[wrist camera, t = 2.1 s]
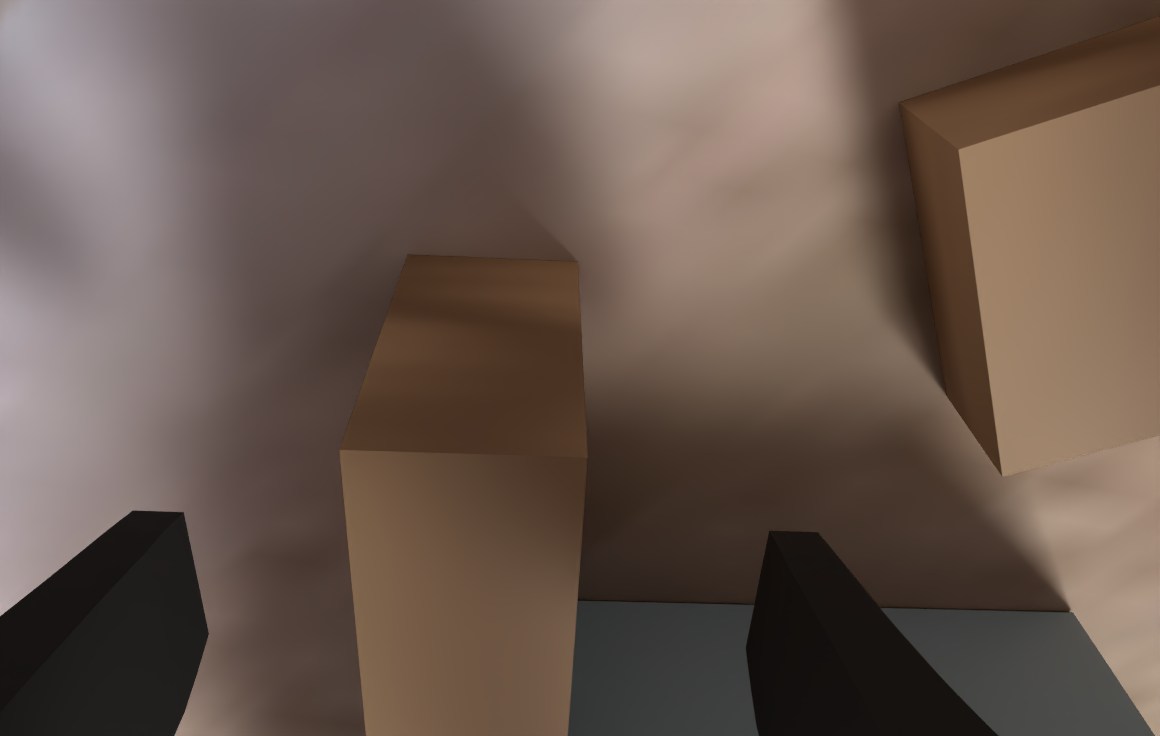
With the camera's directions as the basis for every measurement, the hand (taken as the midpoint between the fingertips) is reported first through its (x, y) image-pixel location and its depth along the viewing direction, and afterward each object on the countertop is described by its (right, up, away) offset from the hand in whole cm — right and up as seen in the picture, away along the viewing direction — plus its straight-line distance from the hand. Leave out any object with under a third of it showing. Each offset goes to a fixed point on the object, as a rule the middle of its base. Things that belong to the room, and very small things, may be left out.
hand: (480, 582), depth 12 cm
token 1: (0, +2, +3) cm, 4 cm away
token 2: (+9, +5, +2) cm, 11 cm away
